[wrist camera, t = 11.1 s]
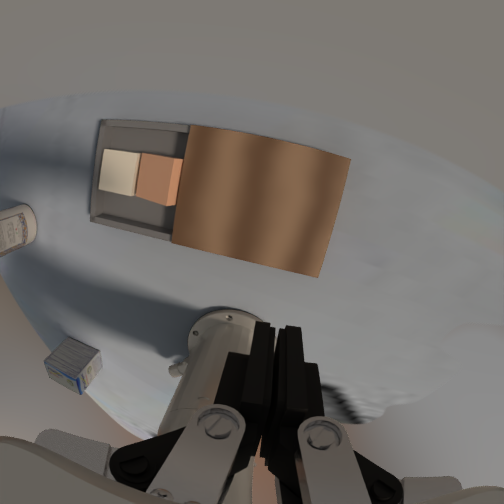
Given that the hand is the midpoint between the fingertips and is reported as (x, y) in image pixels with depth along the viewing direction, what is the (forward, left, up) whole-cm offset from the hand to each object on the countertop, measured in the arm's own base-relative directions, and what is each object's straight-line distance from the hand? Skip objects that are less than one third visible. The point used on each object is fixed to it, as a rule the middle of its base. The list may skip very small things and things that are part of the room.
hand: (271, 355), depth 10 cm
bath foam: (-36, +22, -23) cm, 48 cm away
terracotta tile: (-8, +11, -21) cm, 25 cm away
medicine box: (-42, -3, -23) cm, 48 cm away
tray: (-11, +14, -22) cm, 28 cm away
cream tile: (-12, +15, -20) cm, 28 cm away
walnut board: (0, +4, -22) cm, 23 cm away
